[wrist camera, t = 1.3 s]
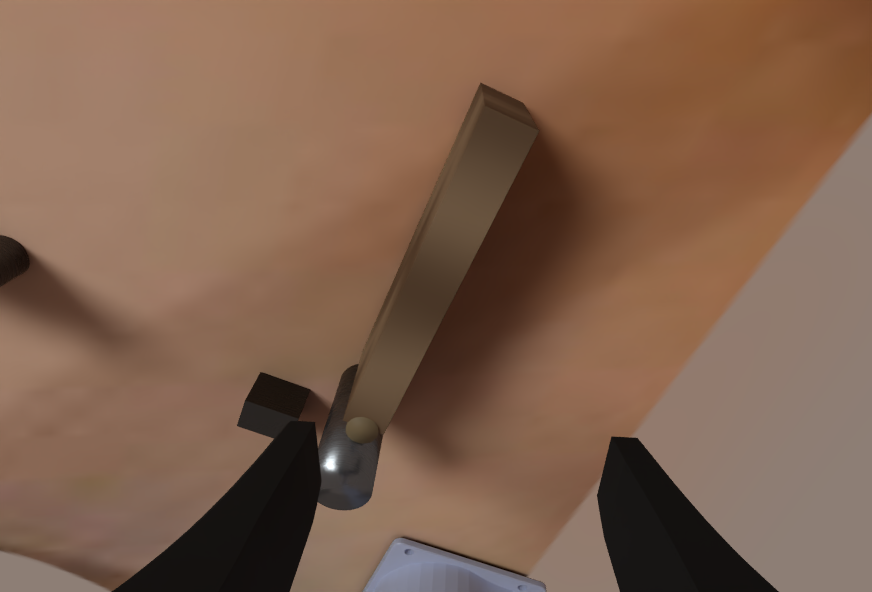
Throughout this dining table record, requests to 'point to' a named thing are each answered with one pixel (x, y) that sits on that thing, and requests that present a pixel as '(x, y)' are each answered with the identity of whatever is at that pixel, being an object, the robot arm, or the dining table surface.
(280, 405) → the hammer
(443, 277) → the handle
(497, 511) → the dining table surface
